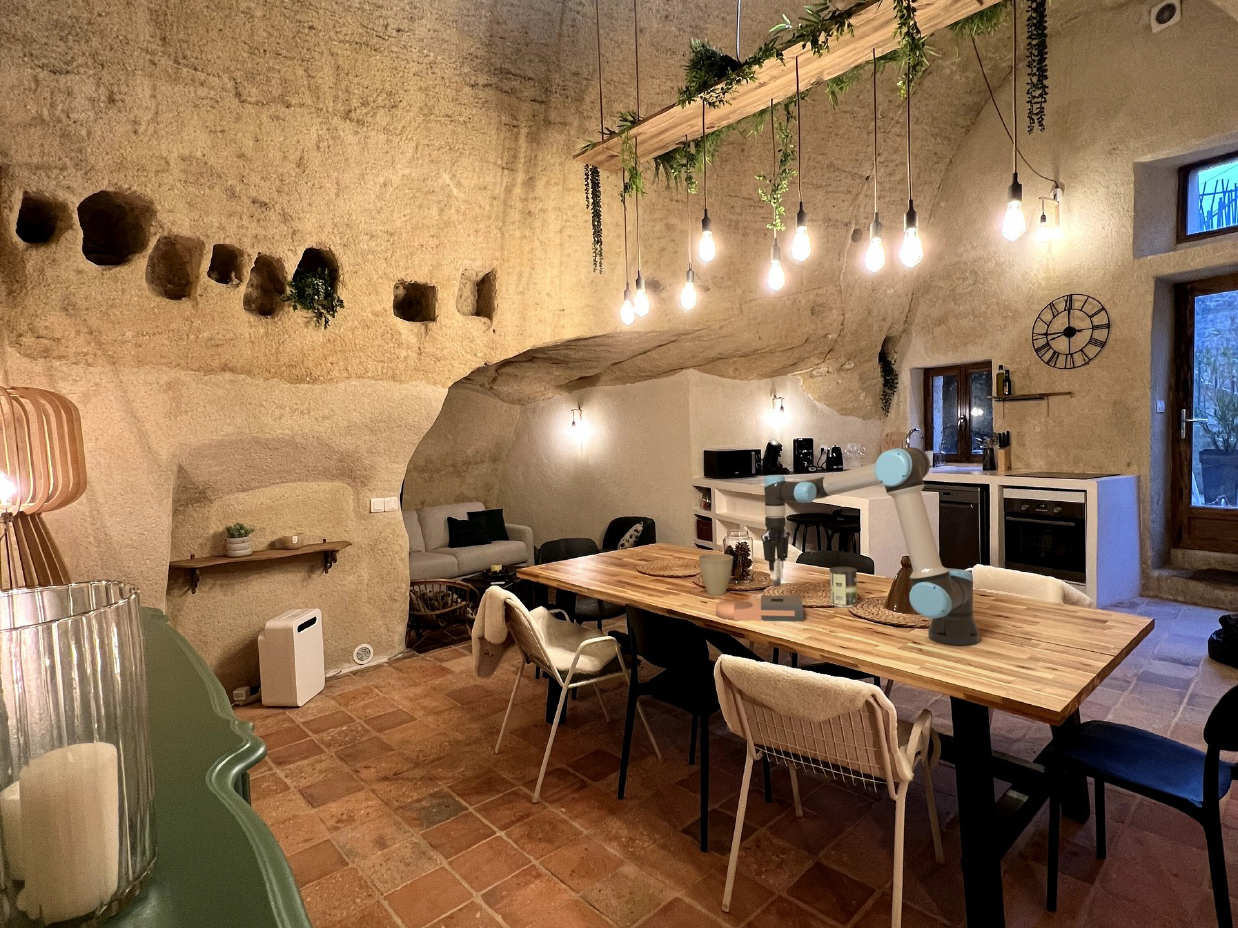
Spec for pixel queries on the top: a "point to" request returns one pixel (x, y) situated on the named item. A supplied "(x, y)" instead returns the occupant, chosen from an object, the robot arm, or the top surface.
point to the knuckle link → (746, 610)
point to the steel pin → (778, 581)
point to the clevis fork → (782, 607)
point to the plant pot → (716, 572)
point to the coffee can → (843, 586)
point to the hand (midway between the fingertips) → (776, 578)
